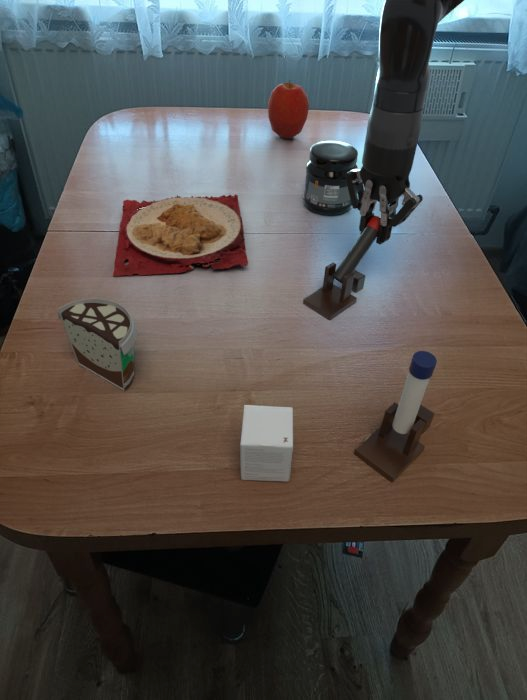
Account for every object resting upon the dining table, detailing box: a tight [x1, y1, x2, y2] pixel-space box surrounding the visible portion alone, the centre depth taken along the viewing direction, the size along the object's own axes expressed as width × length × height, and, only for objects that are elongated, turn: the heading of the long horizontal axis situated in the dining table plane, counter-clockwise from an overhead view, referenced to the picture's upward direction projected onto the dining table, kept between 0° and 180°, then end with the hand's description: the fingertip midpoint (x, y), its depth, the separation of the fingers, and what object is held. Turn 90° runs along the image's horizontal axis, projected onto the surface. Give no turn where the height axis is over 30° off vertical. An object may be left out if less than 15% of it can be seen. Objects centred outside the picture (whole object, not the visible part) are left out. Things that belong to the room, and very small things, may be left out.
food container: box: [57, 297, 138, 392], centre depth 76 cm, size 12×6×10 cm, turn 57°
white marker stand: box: [353, 402, 435, 483], centre depth 69 cm, size 11×6×6 cm, turn 135°
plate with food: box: [112, 194, 249, 277], centre depth 104 cm, size 24×26×3 cm
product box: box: [239, 404, 294, 483], centre depth 65 cm, size 6×6×7 cm
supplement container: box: [302, 140, 359, 216], centre depth 112 cm, size 10×10×12 cm
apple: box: [267, 79, 310, 139], centre depth 136 cm, size 10×10×14 cm
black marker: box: [332, 214, 381, 284], centre depth 89 cm, size 12×3×3 cm
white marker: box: [392, 350, 438, 434], centre depth 63 cm, size 12×3×3 cm
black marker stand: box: [302, 262, 366, 321], centre depth 90 cm, size 11×6×6 cm, turn 135°
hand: (373, 237), depth 91 cm, fingers closed on black marker, 2 cm apart
